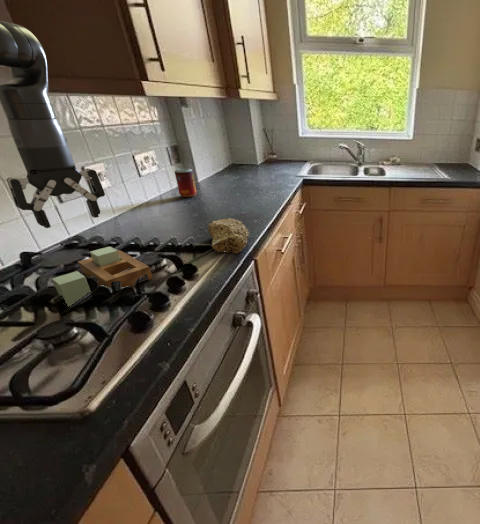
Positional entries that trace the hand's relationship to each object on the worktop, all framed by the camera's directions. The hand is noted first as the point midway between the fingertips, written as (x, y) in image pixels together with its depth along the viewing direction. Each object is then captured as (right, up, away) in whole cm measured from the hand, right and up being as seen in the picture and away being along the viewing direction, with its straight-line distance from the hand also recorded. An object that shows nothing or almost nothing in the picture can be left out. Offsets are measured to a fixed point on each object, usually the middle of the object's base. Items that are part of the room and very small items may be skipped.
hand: (72, 221), depth 72 cm
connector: (+1, -12, +11) cm, 17 cm away
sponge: (+20, -3, +33) cm, 39 cm away
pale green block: (0, -17, +1) cm, 18 cm away
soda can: (-18, +21, +79) cm, 84 cm away
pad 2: (-2, -11, +13) cm, 18 cm away
